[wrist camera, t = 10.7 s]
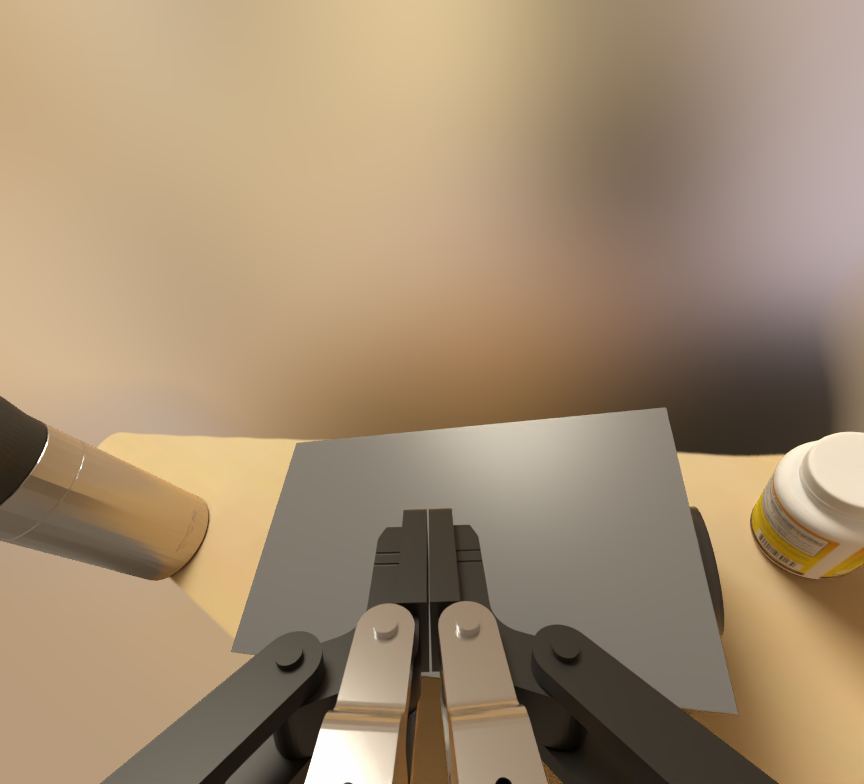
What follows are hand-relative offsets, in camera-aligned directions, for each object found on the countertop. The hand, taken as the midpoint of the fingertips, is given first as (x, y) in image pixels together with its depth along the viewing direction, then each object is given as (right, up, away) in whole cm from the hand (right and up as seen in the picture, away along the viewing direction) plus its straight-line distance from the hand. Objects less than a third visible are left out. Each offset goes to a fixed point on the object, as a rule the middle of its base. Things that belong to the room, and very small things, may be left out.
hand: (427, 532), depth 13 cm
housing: (+6, -10, +19) cm, 22 cm away
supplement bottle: (+24, -5, +14) cm, 28 cm away
